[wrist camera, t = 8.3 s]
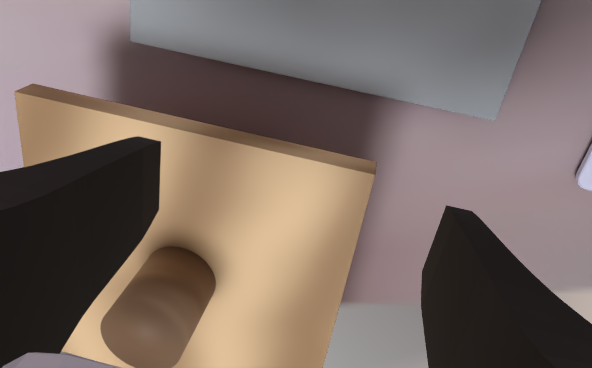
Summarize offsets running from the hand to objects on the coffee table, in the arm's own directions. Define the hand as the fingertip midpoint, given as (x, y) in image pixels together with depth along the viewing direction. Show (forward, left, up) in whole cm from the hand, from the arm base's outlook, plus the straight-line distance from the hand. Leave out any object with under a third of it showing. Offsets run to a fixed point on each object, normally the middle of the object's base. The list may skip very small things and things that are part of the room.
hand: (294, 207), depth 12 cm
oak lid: (+4, +7, -5) cm, 10 cm away
